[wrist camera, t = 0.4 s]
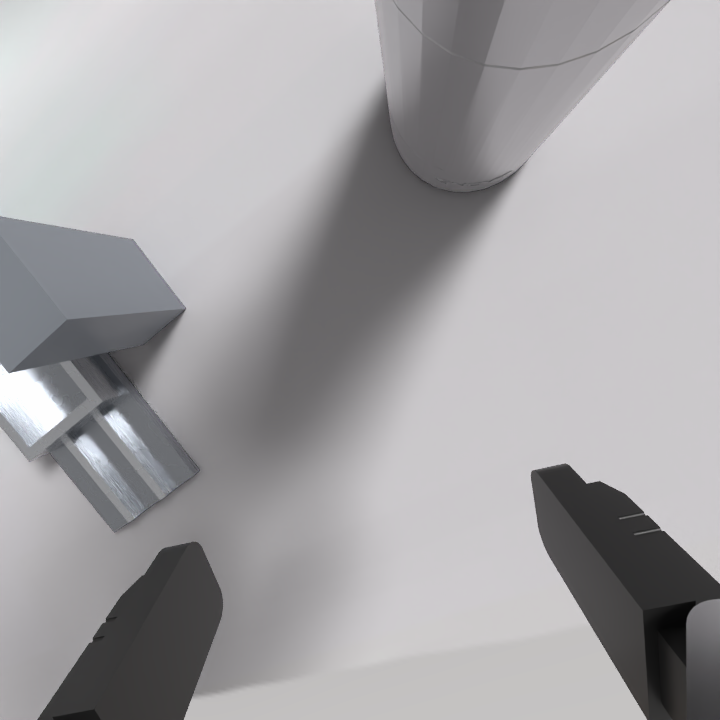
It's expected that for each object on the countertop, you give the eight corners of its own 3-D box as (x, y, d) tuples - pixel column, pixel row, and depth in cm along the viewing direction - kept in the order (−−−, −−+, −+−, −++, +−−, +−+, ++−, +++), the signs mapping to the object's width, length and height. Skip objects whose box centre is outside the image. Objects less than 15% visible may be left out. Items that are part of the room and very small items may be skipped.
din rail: (200, 470, 31) (179, 488, 28) (121, 526, 32) (94, 548, 30) (-23, 188, 29) (-68, 178, 26) (-92, 265, 31) (-141, 263, 28)
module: (186, 308, 28) (67, 319, 19) (140, 347, 29) (5, 376, 20) (133, 239, 28) (-17, 213, 18) (88, 281, 29) (-76, 277, 19)
